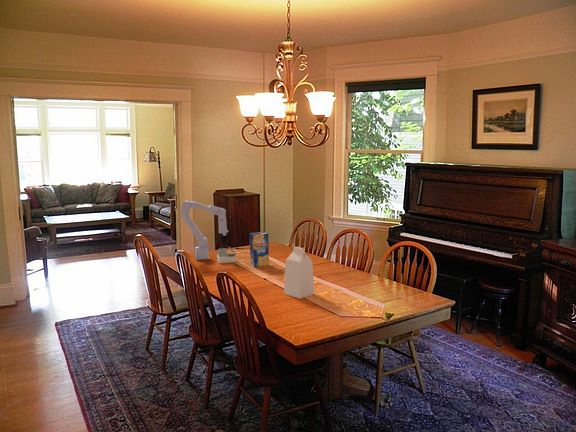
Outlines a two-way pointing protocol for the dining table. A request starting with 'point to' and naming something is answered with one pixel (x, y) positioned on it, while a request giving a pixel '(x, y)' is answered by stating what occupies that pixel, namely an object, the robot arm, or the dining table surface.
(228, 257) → the carton
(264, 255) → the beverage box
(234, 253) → the side flap
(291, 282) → the milk
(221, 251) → the front flap
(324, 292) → the dining table surface
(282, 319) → the dining table surface
